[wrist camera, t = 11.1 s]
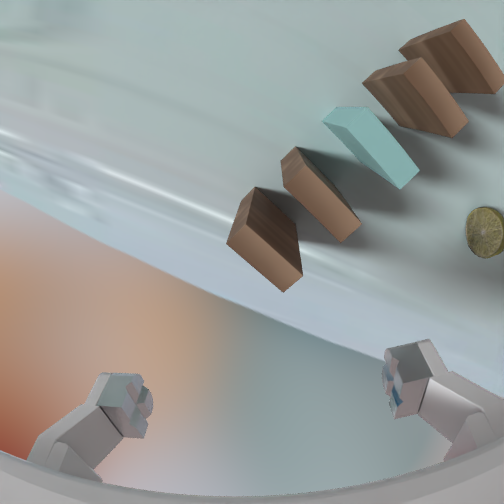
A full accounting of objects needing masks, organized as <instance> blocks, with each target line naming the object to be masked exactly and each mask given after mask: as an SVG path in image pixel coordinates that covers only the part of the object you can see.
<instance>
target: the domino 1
mask: <svg viewBox="0 0 504 504" xmlns="http://www.w3.org/2000/svg"><path fill="white" fill-rule="evenodd" d="M226 244H227V245H228V246H229V247H230V248H232V249H233V250H234V251H235V252H236V253H237V254H239V255H240V256H241V257H242V258H243V259H244V260H246V261H247V262H248V263H249V264H250V265H251V266H253V267H254V268H255V269H256V270H257V271H258V272H260V273H261V274H262V275H263V276H264V277H265V278H267V279H268V280H269V281H270V282H271V283H272V284H274V285H275V286H276V287H277V288H278V289H280V290H281V291H282V292H285V291H286V290H287V289H288V288H289V287H291V286H292V285H293V284H294V283H295V282H296V281H298V280H299V279H300V278H301V277H302V276H303V271H302V264H301V257H300V251H299V244H298V238H297V231H296V225H295V223H293V222H292V221H291V220H290V219H289V218H288V217H287V216H286V215H285V214H284V213H283V212H282V211H281V210H280V209H279V208H278V207H276V206H275V205H274V204H273V203H272V202H271V201H270V200H269V199H268V198H267V197H266V196H265V195H264V194H262V193H261V192H260V191H259V190H258V189H257V188H256V187H254V188H253V189H252V190H251V191H250V192H249V193H248V194H247V195H246V196H245V197H244V199H243V200H242V201H241V203H240V206H239V209H238V211H237V214H236V217H235V220H234V223H233V226H232V228H231V231H230V234H229V237H228V240H227V243H226Z"/></svg>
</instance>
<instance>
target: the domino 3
mask: <svg viewBox="0 0 504 504" xmlns="http://www.w3.org/2000/svg"><path fill="white" fill-rule="evenodd" d="M399 51H400V53H401V54H402V55H403V56H404V57H405V58H406V59H407V60H408V61H409V60H412V59H416V58H420V57H422V58H423V60H424V61H425V62H426V63H427V64H428V66H429V67H430V68H431V69H432V71H433V72H434V73H435V74H436V76H437V77H438V78H439V80H440V81H441V82H442V83H443V85H444V86H445V87H446V89H447V90H448V92H449V93H482V94H495V93H496V92H497V91H498V90H499V89H500V88H501V87H502V86H503V85H504V74H503V73H502V71H501V70H500V68H499V66H498V65H497V63H496V62H495V60H494V59H493V57H492V56H491V54H490V53H489V51H488V50H487V48H486V47H485V46H484V44H483V43H482V41H481V40H480V39H479V37H478V36H477V35H476V33H475V32H474V31H473V29H472V28H471V27H470V25H469V24H468V23H467V22H466V20H465V19H462V20H460V21H457V22H454V23H451V24H449V25H446V26H443V27H441V28H438V29H435V30H433V31H430V32H428V33H425V34H423V35H420V36H418V37H416V38H413V39H411V40H409V41H408V42H407V43H406V44H405V45H404V46H403V47H401V48H400V49H399Z"/></svg>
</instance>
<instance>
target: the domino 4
mask: <svg viewBox="0 0 504 504" xmlns="http://www.w3.org/2000/svg"><path fill="white" fill-rule="evenodd" d="M362 84H363V85H364V86H365V87H366V88H367V89H368V90H369V91H370V92H371V94H372V95H373V96H374V97H375V98H376V99H377V100H378V101H379V102H380V104H381V105H382V106H383V107H384V108H385V109H386V110H387V112H388V113H389V114H390V115H391V116H392V118H393V119H394V120H395V121H396V122H397V123H398V125H399V126H402V127H407V128H412V129H417V130H421V131H425V132H430V133H434V134H438V135H442V136H446V137H450V138H453V137H454V136H455V135H456V134H457V133H458V132H459V131H460V130H461V129H462V128H463V127H464V126H465V125H466V124H467V123H468V122H469V121H468V119H467V118H466V116H465V115H464V113H463V112H462V110H461V109H460V107H459V106H458V104H457V103H456V101H455V100H454V99H453V97H452V96H451V94H450V93H449V92H448V90H447V89H446V87H445V86H444V85H443V83H442V82H441V81H440V80H439V78H438V77H437V76H436V74H435V73H434V72H433V71H432V69H431V68H430V67H429V66H428V64H427V63H426V62H425V61H424V60H423V58H422V57H420V58H416V59H412V60H409V61H405V62H402V63H399V64H395V65H392V66H389V67H386V68H382V69H379V70H376V71H375V72H374V73H372V74H371V75H370V76H369V77H368V78H367V79H366V80H365V81H364V82H363V83H362Z"/></svg>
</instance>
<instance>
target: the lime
mask: <svg viewBox="0 0 504 504" xmlns="http://www.w3.org/2000/svg"><path fill="white" fill-rule="evenodd" d="M466 237H467V241H468V246H469V248H470V249H471V250H472V252H473V253H474V254H475V255H477V256H478V257H482V258H490V257H493V256H495V255H498V254H499V253H501V252H502V251H503V249H504V218H503V217H502V215H501V214H500V213H499V212H498V211H496V210H494V209H492V208H487V207H480V208H477V209H475V210H473V211H472V212H471V213H470V214H469V216H468V218H467V222H466Z"/></svg>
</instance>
